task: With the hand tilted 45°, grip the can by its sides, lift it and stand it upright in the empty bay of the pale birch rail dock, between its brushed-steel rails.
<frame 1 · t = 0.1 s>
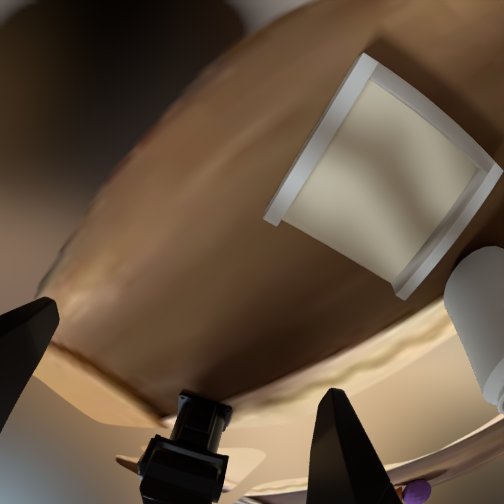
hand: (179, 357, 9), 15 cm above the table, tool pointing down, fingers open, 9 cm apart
can: (476, 279, 22), on the table
rail dock: (387, 181, 19), on the table
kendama: (382, 487, 45), on the table
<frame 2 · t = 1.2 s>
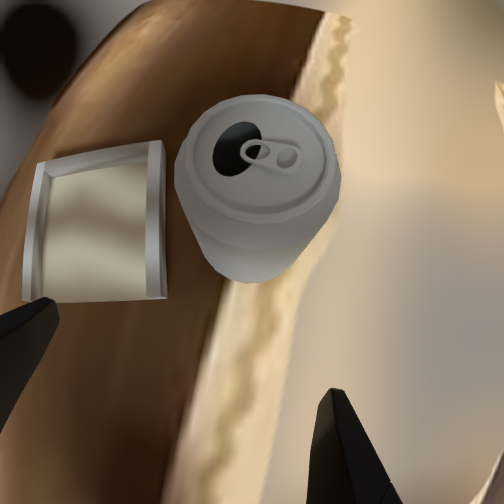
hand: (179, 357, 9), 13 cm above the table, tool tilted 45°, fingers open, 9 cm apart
can: (250, 235, 24), on the table
rail dock: (95, 227, 23), on the table
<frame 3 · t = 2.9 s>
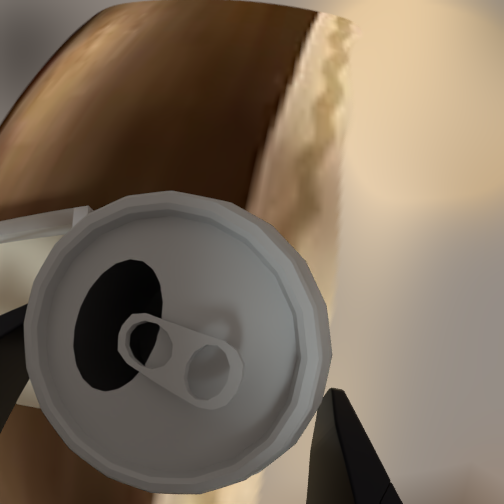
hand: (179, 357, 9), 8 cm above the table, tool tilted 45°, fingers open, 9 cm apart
can: (209, 340, 17), on the table
rail dock: (25, 315, 16), on the table
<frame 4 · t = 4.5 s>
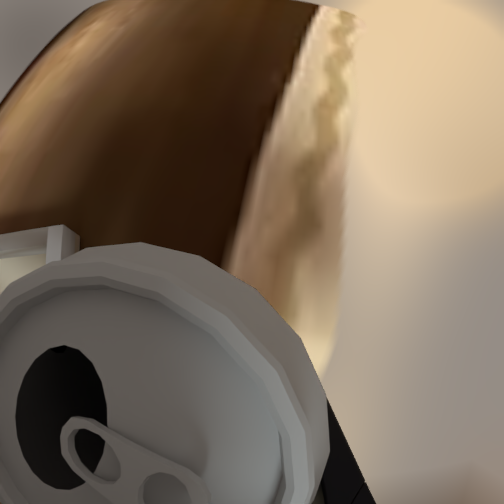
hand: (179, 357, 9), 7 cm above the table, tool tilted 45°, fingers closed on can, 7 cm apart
can: (197, 373, 15), on the table, touching gripper
rail dock: (5, 339, 14), on the table
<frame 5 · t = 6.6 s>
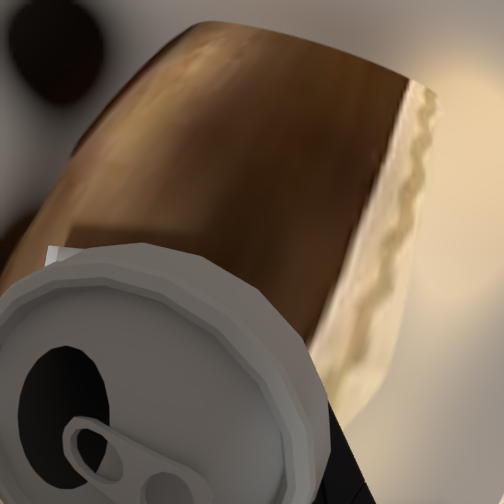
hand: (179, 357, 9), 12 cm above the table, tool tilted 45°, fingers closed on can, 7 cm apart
can: (197, 372, 15), point 5 cm above the table, touching gripper
rail dock: (118, 342, 20), on the table
when the fingers open (8 cm above the table, at t = 9.1 s): can drops 1 cm, resting on rail dock.
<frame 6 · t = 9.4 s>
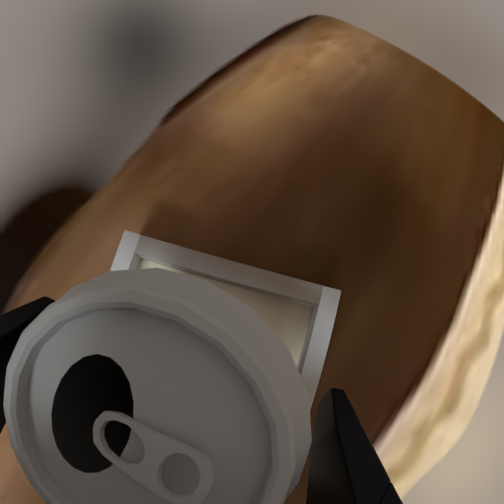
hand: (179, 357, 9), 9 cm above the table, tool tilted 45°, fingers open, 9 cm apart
can: (199, 373, 16), resting on rail dock
rail dock: (201, 369, 17), on the table
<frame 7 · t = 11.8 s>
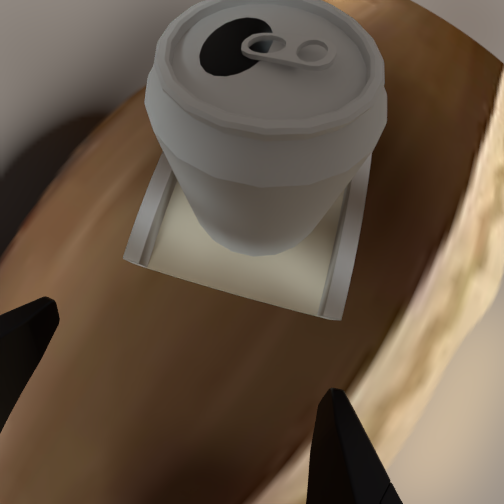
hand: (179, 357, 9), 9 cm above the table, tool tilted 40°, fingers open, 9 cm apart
can: (257, 197, 19), resting on rail dock
rail dock: (258, 197, 19), on the table
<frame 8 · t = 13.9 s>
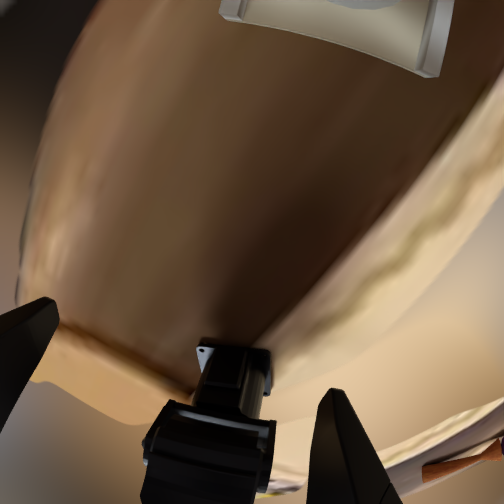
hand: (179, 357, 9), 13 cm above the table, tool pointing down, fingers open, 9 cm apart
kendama: (476, 444, 33), on the table
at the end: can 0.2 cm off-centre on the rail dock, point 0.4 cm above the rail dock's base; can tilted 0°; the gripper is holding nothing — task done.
